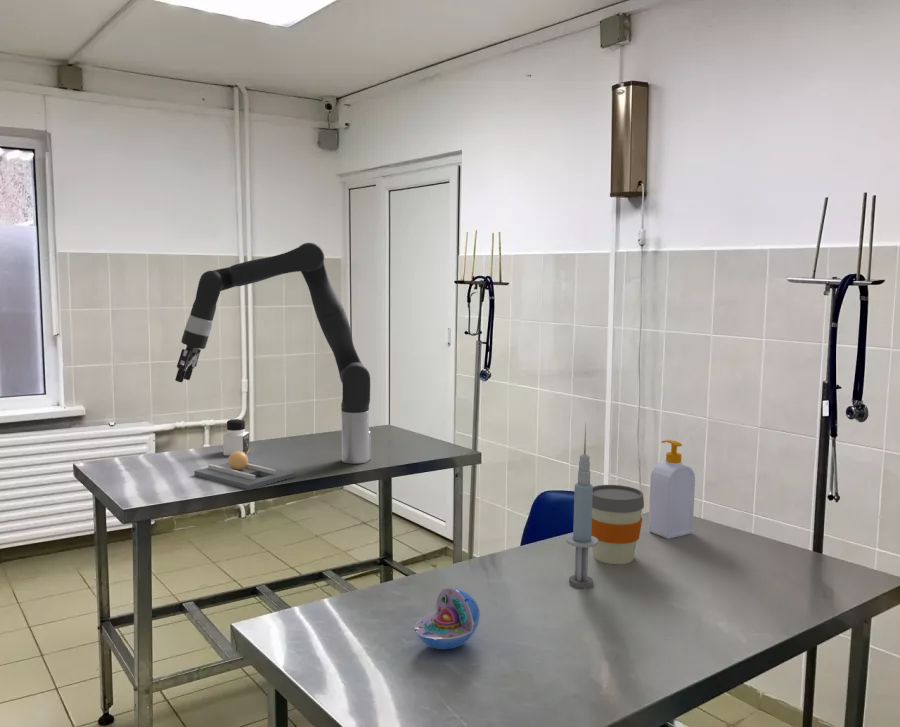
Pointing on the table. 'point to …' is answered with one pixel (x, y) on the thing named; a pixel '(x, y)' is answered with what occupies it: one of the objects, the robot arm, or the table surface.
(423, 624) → the cell model
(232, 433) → the medicine bottle
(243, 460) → the ball
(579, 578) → the syringe
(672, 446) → the soap bottle
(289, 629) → the table surface
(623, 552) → the reusable coffee cup
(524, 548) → the table surface
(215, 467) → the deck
